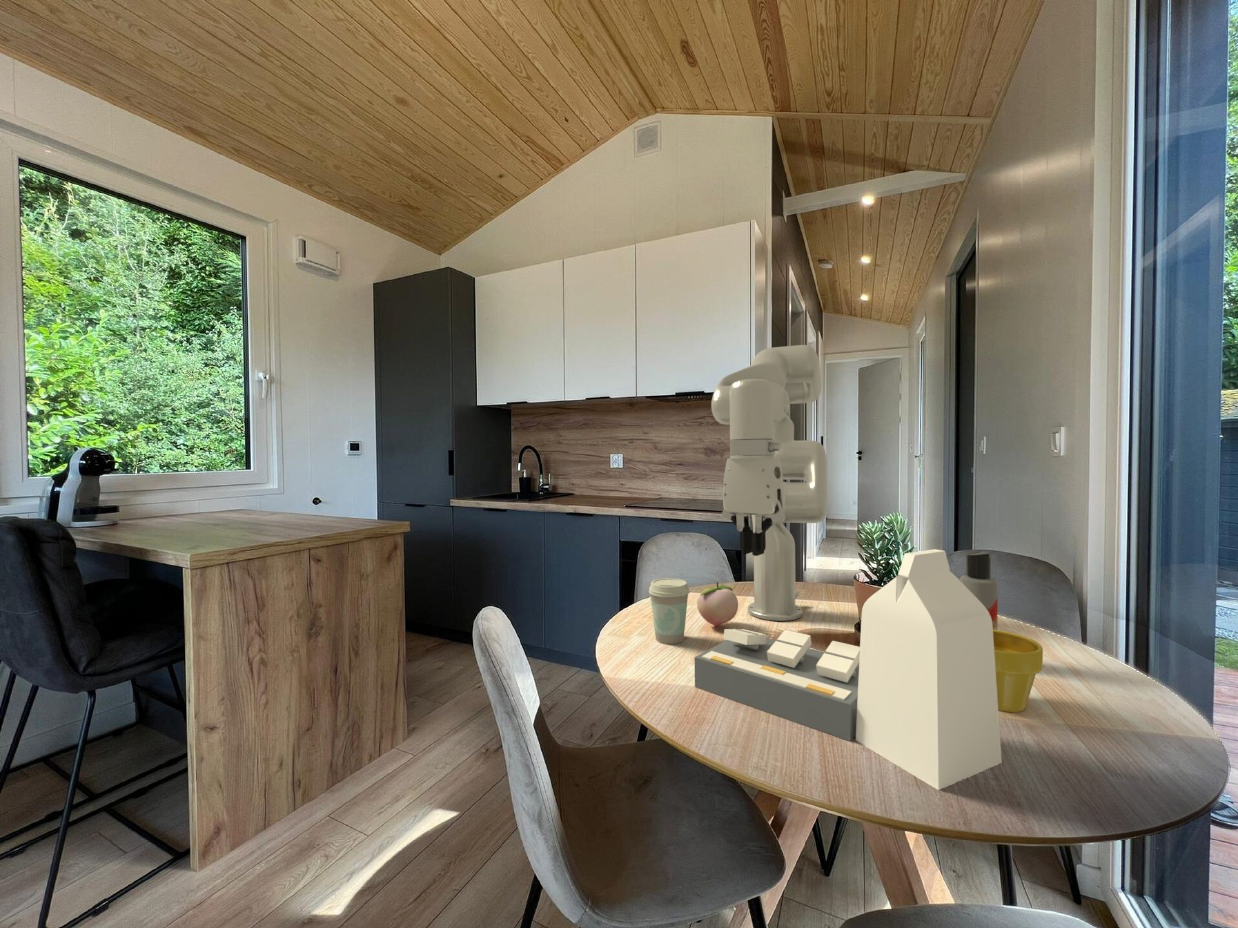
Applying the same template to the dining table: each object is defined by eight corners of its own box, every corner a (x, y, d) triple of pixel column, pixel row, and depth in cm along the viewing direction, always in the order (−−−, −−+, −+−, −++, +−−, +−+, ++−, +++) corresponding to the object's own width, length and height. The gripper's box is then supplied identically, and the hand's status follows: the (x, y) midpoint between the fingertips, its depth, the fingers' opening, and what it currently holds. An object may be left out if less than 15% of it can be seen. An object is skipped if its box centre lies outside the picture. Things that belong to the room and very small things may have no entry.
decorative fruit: (721, 637, 110) (720, 590, 109) (691, 627, 116) (690, 583, 116) (747, 626, 116) (746, 582, 116) (717, 618, 122) (716, 575, 122)
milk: (938, 790, 60) (938, 565, 59) (855, 740, 70) (854, 549, 70) (1001, 762, 65) (1002, 555, 64) (915, 719, 75) (915, 541, 74)
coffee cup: (641, 639, 109) (640, 583, 108) (666, 629, 115) (665, 575, 115) (673, 650, 103) (673, 590, 103) (698, 638, 109) (697, 581, 109)
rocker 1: (743, 638, 94) (744, 628, 94) (765, 644, 91) (766, 633, 91) (723, 638, 89) (724, 628, 89) (746, 644, 86) (747, 633, 86)
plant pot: (1057, 723, 73) (1057, 655, 73) (972, 714, 76) (972, 648, 76) (1023, 691, 83) (1023, 630, 83) (950, 683, 86) (950, 625, 86)
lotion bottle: (992, 668, 92) (992, 556, 91) (955, 659, 96) (955, 552, 96) (1001, 660, 95) (1001, 552, 95) (965, 651, 100) (965, 548, 99)
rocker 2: (786, 637, 89) (784, 628, 88) (811, 643, 86) (810, 634, 86) (768, 660, 84) (766, 650, 84) (794, 667, 81) (792, 657, 81)
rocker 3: (833, 649, 83) (832, 639, 83) (862, 656, 80) (861, 646, 80) (817, 674, 79) (815, 664, 78) (847, 682, 76) (846, 672, 75)
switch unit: (742, 657, 98) (742, 625, 98) (885, 698, 82) (885, 659, 81) (694, 686, 87) (694, 650, 87) (849, 741, 70) (849, 696, 70)
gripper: (803, 449, 89) (804, 555, 90) (724, 450, 100) (725, 546, 100) (784, 449, 84) (785, 563, 84) (702, 451, 94) (703, 551, 95)
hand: (752, 553), depth 92 cm, fingers closed
